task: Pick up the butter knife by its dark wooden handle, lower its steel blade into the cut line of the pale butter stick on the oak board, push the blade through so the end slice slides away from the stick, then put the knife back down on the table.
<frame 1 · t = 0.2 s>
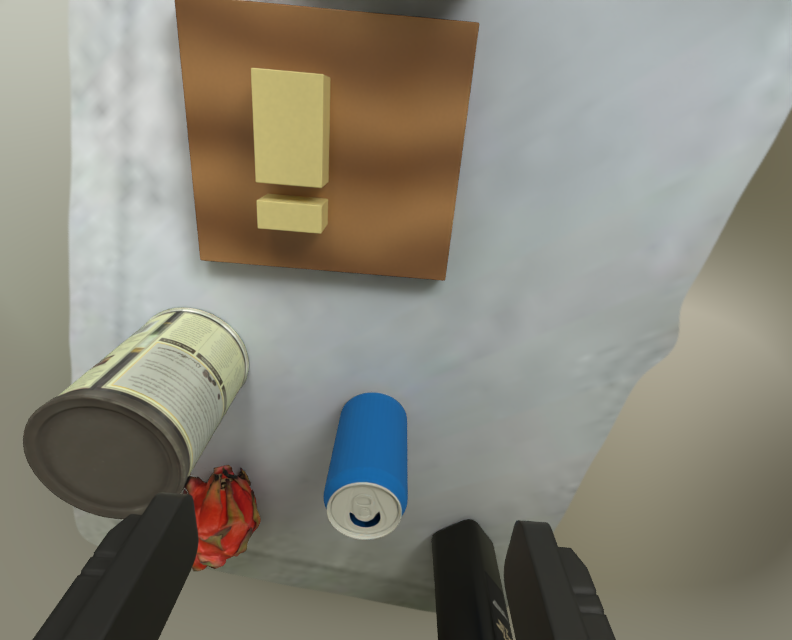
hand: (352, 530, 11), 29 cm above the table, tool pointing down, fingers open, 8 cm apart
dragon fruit: (229, 487, 49), on the table
wine bottle: (462, 537, 52), on the table
board: (328, 152, 35), on the table
butter slice: (298, 209, 35), point 1 cm above the table, touching board
butter: (297, 129, 33), point 1 cm above the table, touching board
coffee can: (196, 356, 43), on the table
beverage can: (374, 414, 45), on the table
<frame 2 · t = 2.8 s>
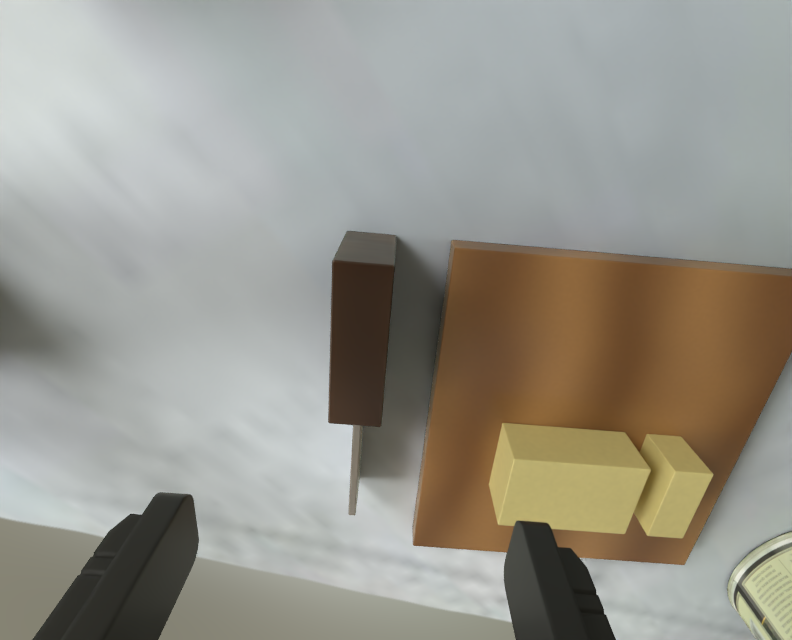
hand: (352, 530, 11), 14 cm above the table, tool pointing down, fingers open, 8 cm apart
board: (579, 417, 27), on the table
butter slice: (651, 466, 27), point 1 cm above the table, touching board
butter: (554, 458, 27), point 1 cm above the table, touching board
knife: (367, 306, 24), on the table
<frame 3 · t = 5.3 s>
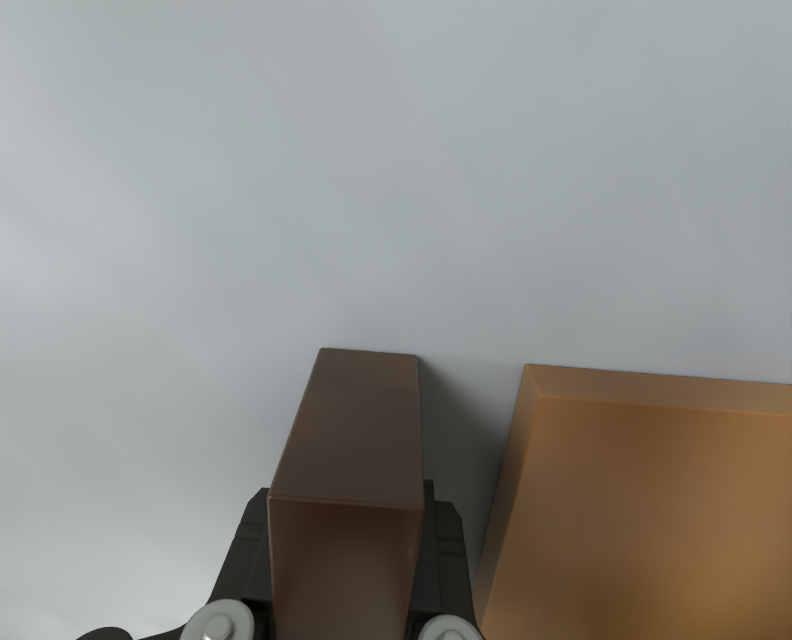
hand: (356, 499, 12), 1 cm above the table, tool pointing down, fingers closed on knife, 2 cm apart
board: (722, 630, 16), on the table
knife: (361, 470, 13), on the table, touching gripper
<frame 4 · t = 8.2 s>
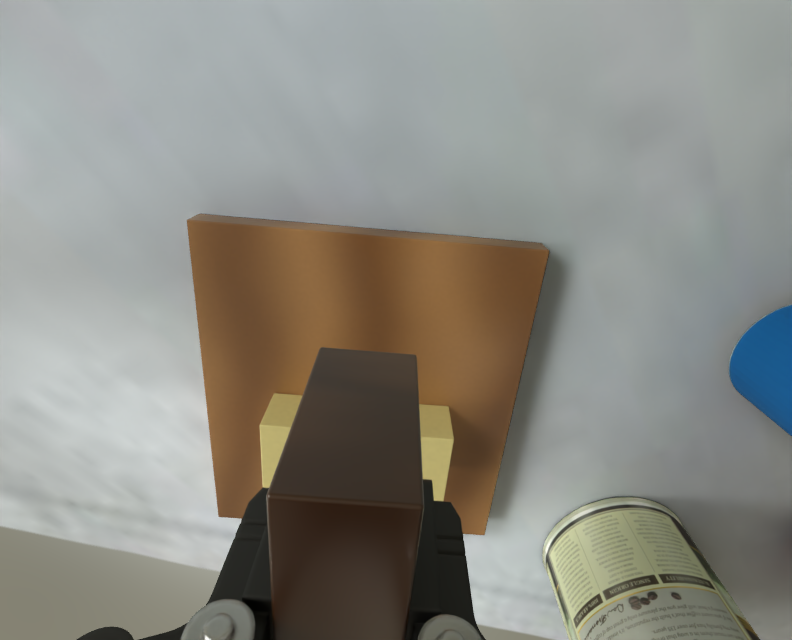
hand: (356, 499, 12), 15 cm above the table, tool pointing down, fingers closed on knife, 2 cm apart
board: (361, 389, 28), on the table
butter slice: (427, 436, 28), point 1 cm above the table, touching board
butter: (333, 429, 27), point 1 cm above the table, touching board
knife: (360, 470, 13), point 13 cm above the table, touching gripper
coffee can: (610, 544, 34), on the table
beverage can: (775, 346, 27), on the table
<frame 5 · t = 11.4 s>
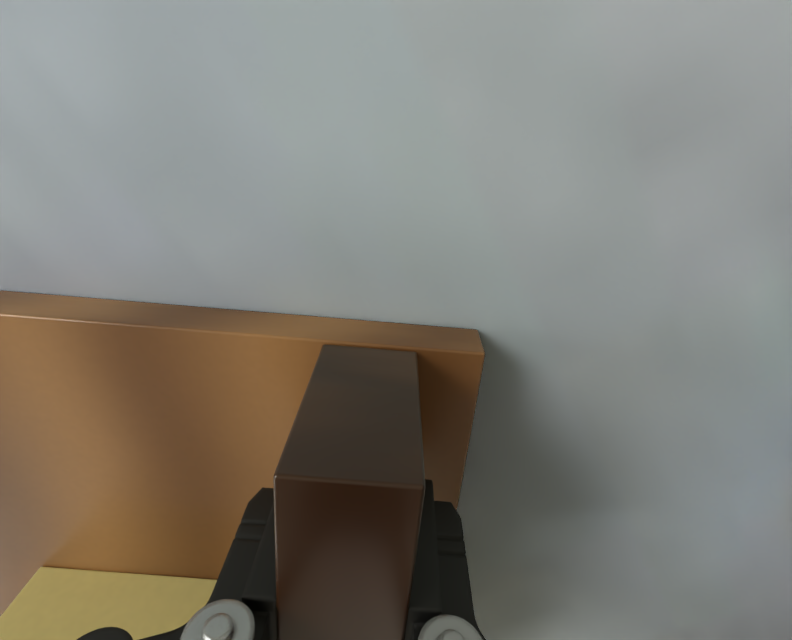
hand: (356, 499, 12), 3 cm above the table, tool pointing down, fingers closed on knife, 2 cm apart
board: (203, 545, 17), on the table
butter: (151, 615, 17), point 1 cm above the table, touching board
knife: (361, 468, 14), point 2 cm above the table, touching board, butter slice, gripper
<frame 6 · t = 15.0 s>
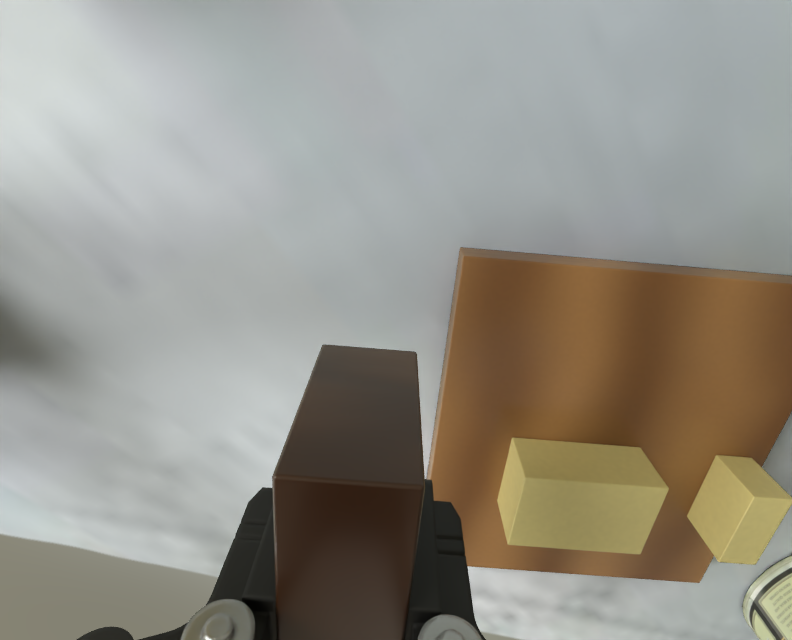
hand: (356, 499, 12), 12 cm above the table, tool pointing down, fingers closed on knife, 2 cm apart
board: (592, 430, 26), on the table
butter slice: (717, 487, 26), point 1 cm above the table, touching board
butter: (566, 474, 25), point 1 cm above the table, touching board
knife: (361, 468, 13), point 11 cm above the table, touching gripper
when the fingers open (1 cm above the table, at t = 17.6 s): knife stays where it is, on the table.
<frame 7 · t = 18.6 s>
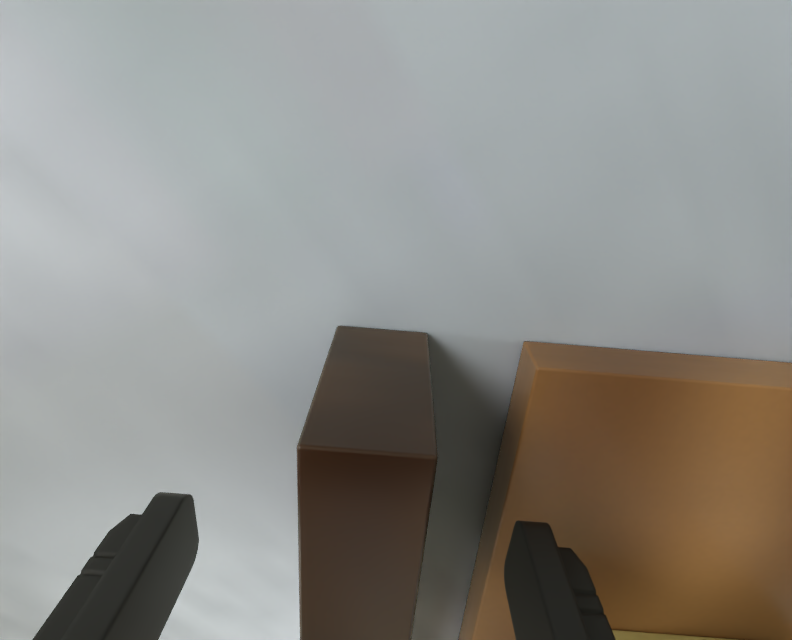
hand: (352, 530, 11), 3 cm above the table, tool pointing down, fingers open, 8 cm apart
board: (713, 601, 17), on the table
knife: (374, 443, 14), on the table
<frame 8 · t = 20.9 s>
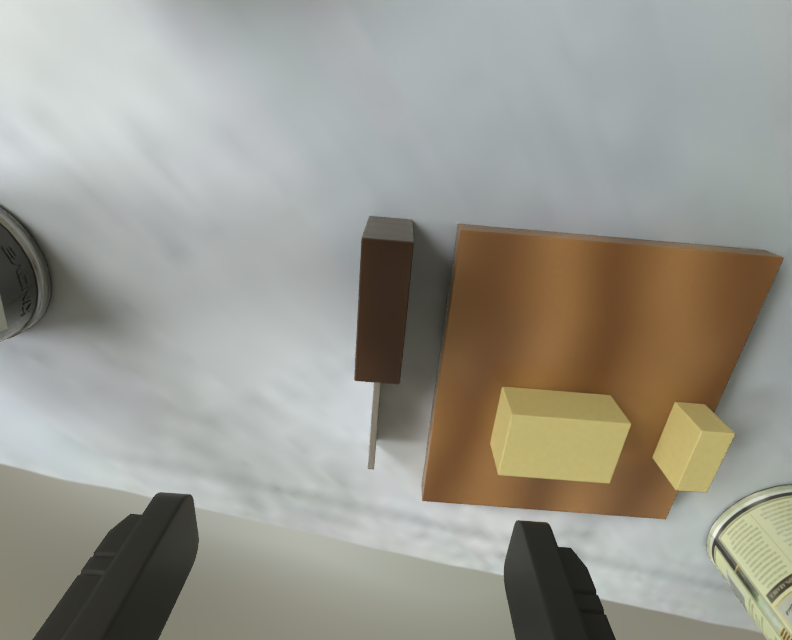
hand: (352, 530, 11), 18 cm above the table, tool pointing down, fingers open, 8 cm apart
board: (570, 383, 31), on the table
butter slice: (677, 431, 30), point 1 cm above the table, touching board
butter: (548, 419, 30), point 1 cm above the table, touching board
knife: (385, 283, 28), on the table
coffee can: (771, 530, 36), on the table
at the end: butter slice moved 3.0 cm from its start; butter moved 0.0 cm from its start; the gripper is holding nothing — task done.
